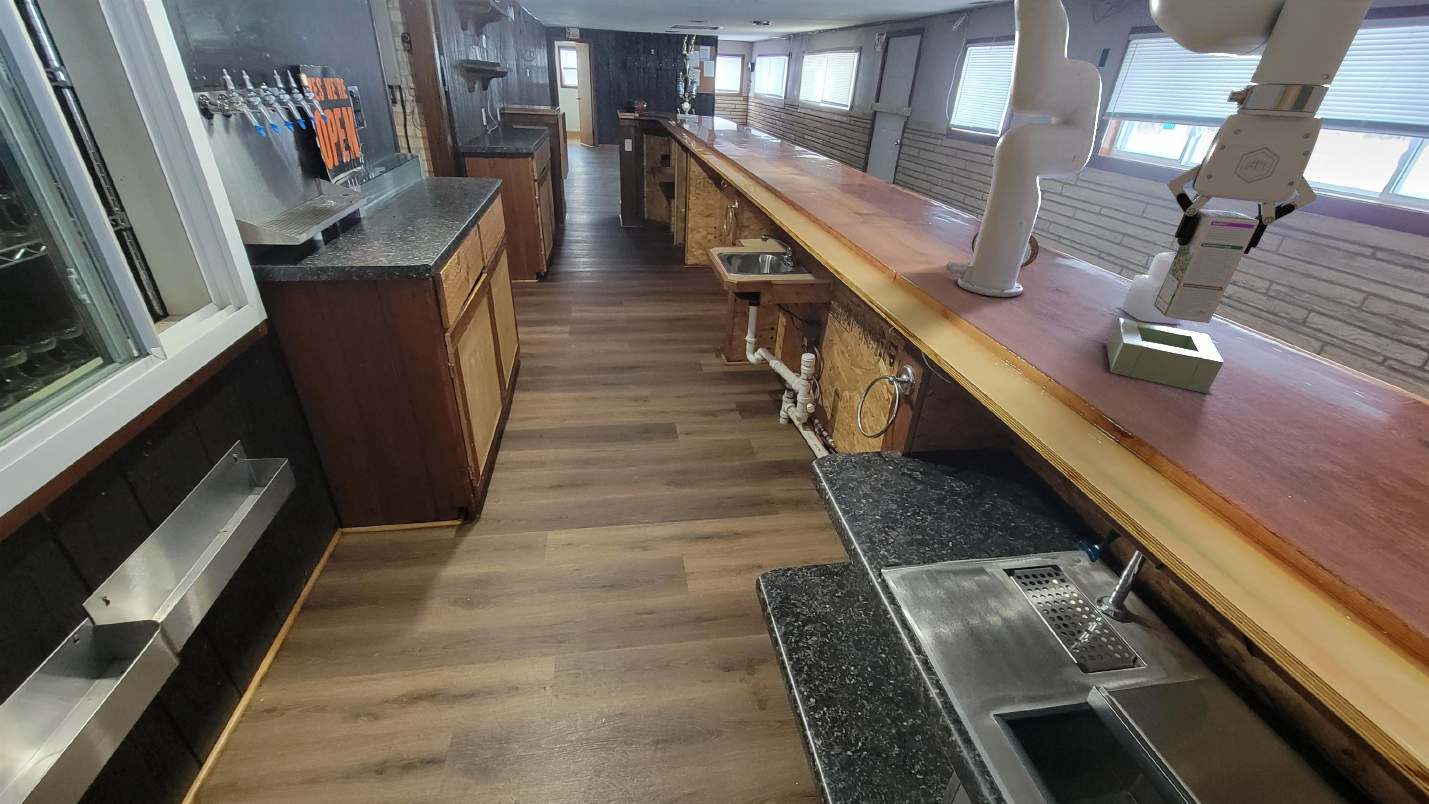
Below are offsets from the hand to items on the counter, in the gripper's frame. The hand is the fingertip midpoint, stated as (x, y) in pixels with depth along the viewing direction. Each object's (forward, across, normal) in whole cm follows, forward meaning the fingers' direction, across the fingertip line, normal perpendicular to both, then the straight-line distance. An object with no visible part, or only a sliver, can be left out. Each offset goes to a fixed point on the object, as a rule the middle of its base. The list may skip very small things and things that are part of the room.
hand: (1211, 246), depth 78 cm
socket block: (+19, 0, 0) cm, 19 cm away
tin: (+19, -27, +50) cm, 60 cm away
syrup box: (+10, 0, 0) cm, 10 cm away
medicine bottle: (+19, +2, +28) cm, 34 cm away
